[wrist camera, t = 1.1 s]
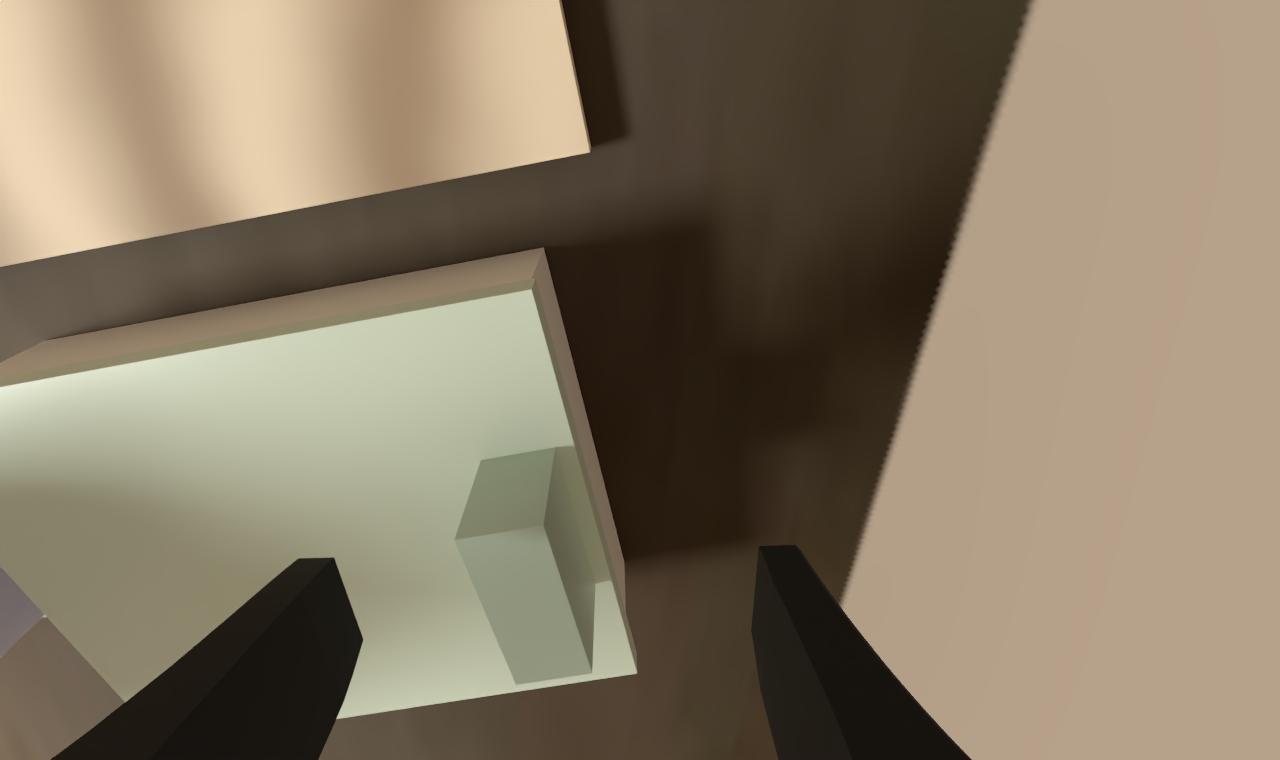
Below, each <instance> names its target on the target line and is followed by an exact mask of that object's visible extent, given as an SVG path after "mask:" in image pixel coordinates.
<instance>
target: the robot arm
mask: <svg viewBox="0 0 1280 760" xmlns="http://www.w3.org/2000/svg"><path fill="white" fill-rule="evenodd" d="M43 617H46V616H45V615H44V614H43V612H42V611H41V610H40V609H39V608H38V607H37V606H36V605H35V604H34V603H33V602H32V600H31V599H30V598H29V597H28V596H27V595H26V594H25V593H24V592H23V591H22V590H21V589H20V587H19V586H18V585H17V584H16V583H15V582H14V581H13V580H12V579H11V578H10V577H9V576H8V574H7V573H6V572H5V571H4V570H3V569H2V568H1V567H0V658H1V657H2V656H3V655H4V654H5V653H6V652H7V651H8V650H9V649H10V648H11V647H12V646H13V645H14V644H15V643H16V642H17V641H18V640H19V639H20V638H21V637H22V636H23V635H24V634H25V633H27V632H28V631H29V630H30V629H31V628H32V627H33V626H34V625H35V624H36V623H37V622H38V621H39V620H40V619H41V618H43ZM751 630H752V636H753V643H754V650H755V657H756V663H757V670H758V676H759V682H760V688H761V693H762V697H763V701H764V705H765V709H766V713H767V717H768V721H769V725H770V728H771V732H772V736H773V740H774V744H775V748H776V752H777V755H778V759H779V760H971V759H970V758H969V756H968V755H967V754H965V753H964V751H963V750H961V748H960V747H959V746H958V745H957V744H956V743H955V742H954V741H953V740H952V739H951V738H950V737H949V736H948V735H947V734H946V733H945V732H944V730H943V729H942V728H941V727H940V726H939V725H938V724H937V723H936V722H935V721H934V720H933V719H932V717H931V716H930V715H929V714H928V713H927V712H926V711H925V710H924V709H923V708H922V706H921V705H920V704H919V703H918V702H917V701H916V700H915V698H914V697H913V696H912V695H911V694H910V693H909V692H908V690H907V689H906V688H905V687H904V686H903V685H902V684H901V682H900V681H899V680H898V679H897V678H896V677H895V675H894V674H893V673H892V672H891V670H890V669H889V668H888V667H887V666H886V665H885V663H884V662H883V661H882V660H881V658H880V657H879V656H878V655H877V653H876V652H875V651H874V650H873V648H872V647H871V646H870V645H869V643H868V642H867V641H866V640H865V639H864V637H863V636H862V635H861V633H860V632H859V631H858V630H857V628H856V627H855V626H854V624H853V623H852V622H851V621H850V619H849V618H848V617H847V615H846V614H845V613H844V611H843V610H842V608H841V607H840V606H839V604H838V603H837V602H836V600H835V599H834V598H833V596H832V595H831V594H830V592H829V591H828V589H827V588H826V587H825V585H824V584H823V582H822V581H821V579H820V578H819V577H818V575H817V574H816V572H815V571H814V569H813V568H812V566H811V565H810V563H809V562H808V560H807V559H806V557H805V556H804V554H803V553H802V551H801V550H800V549H799V548H798V547H797V546H796V545H782V546H759V552H758V563H757V574H756V585H755V596H754V607H753V618H752V629H751ZM362 643H363V637H362V634H361V631H360V628H359V626H358V623H357V620H356V617H355V615H354V612H353V609H352V606H351V603H350V601H349V598H348V595H347V592H346V589H345V587H344V584H343V581H342V578H341V575H340V573H339V570H338V567H337V564H336V561H335V559H334V557H331V558H298V559H297V560H296V561H294V562H293V563H292V564H291V565H289V566H288V567H287V568H286V569H284V570H283V571H282V572H281V573H280V574H278V575H277V576H276V577H275V578H274V579H273V580H271V581H270V582H269V583H268V584H267V585H265V586H264V587H263V588H262V589H261V590H260V591H258V592H257V593H256V594H255V595H254V596H253V597H252V598H250V599H249V600H248V601H247V602H246V603H245V604H243V605H242V606H241V607H240V608H239V609H238V610H236V611H235V612H234V613H233V614H232V615H231V616H229V617H228V618H227V619H226V620H225V621H224V622H222V623H221V624H220V625H219V626H218V627H217V628H215V629H214V630H213V631H212V632H211V633H209V634H208V635H207V636H206V637H205V638H204V639H202V640H201V641H200V642H199V643H198V644H196V645H195V646H194V647H193V648H192V649H191V650H189V651H188V652H187V653H186V654H185V655H183V656H182V657H181V658H180V659H179V660H178V661H176V662H175V663H174V664H173V665H172V666H170V667H169V668H168V669H167V670H165V671H164V672H163V673H162V674H160V675H159V676H158V677H157V678H155V679H154V680H153V681H152V682H150V683H149V684H148V685H147V686H145V687H144V688H143V689H141V690H140V691H139V692H138V693H136V694H135V695H134V696H133V697H131V698H130V699H129V700H128V701H126V702H125V703H124V704H123V705H121V706H120V707H119V708H118V709H116V710H115V711H114V712H113V713H111V714H110V715H109V716H108V717H106V718H105V719H104V720H102V721H101V722H100V723H99V724H97V725H96V726H95V727H94V728H92V729H91V730H90V731H88V732H87V733H86V734H84V735H83V736H82V737H80V738H79V739H78V740H76V741H75V742H74V743H72V744H71V745H70V746H68V747H67V748H66V749H64V750H63V751H62V752H60V753H59V754H58V755H56V756H55V757H53V758H52V759H51V760H318V759H319V756H320V754H321V752H322V750H323V747H324V745H325V743H326V741H327V739H328V736H329V734H330V732H331V730H332V727H333V725H334V723H335V721H336V718H337V716H338V714H339V712H340V709H341V707H342V705H343V702H344V700H345V697H346V694H347V691H348V688H349V685H350V682H351V679H352V676H353V673H354V669H355V666H356V663H357V659H358V656H359V653H360V649H361V646H362Z"/></svg>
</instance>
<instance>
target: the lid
mask: <svg viewBox="0 0 1280 760" xmlns="http://www.w3.org/2000/svg"><path fill="white" fill-rule="evenodd" d="M331 557H334V559H335V561H336V564H337V567H338V570H339V573H340V575H341V578H342V581H343V584H344V587H345V589H346V592H347V595H348V598H349V601H350V603H351V606H352V609H353V612H354V615H355V617H356V620H357V623H358V626H359V628H360V631H361V634H362V637H363V643H362V646H361V649H360V653H359V656H358V659H357V663H356V666H355V669H354V673H353V676H352V679H351V682H350V685H349V688H348V691H347V694H346V697H345V700H344V702H343V705H342V707H341V709H340V712H339V714H338V716H337V718H336V719H339V718H346V717H352V716H359V715H365V714H372V713H379V712H385V711H392V710H399V709H405V708H412V707H418V706H425V705H432V704H438V703H445V702H451V701H458V700H465V699H471V698H478V697H484V696H491V695H498V694H504V693H511V692H518V691H524V690H531V689H537V688H544V687H551V686H557V685H564V684H570V683H577V682H584V681H590V680H597V679H603V678H610V677H617V676H623V675H630V674H636V673H637V654H636V649H635V645H634V642H633V638H632V634H631V631H630V627H629V623H628V619H627V616H626V612H625V608H624V605H623V601H622V597H621V593H620V590H619V586H618V582H617V579H616V575H615V571H614V567H613V564H612V560H611V556H610V553H609V549H608V545H607V541H606V538H605V534H604V530H603V527H602V523H601V519H600V516H599V512H598V508H597V504H596V501H595V497H594V493H593V490H592V486H591V482H590V478H589V475H588V471H587V467H586V464H585V460H584V456H583V452H582V449H581V445H580V441H579V438H578V434H577V430H576V426H575V423H574V419H573V415H572V412H571V408H570V404H569V400H568V397H567V393H566V389H565V386H564V382H563V378H562V375H561V371H560V367H559V363H558V360H557V356H556V352H555V349H554V345H553V341H552V337H551V334H550V330H549V326H548V323H547V319H546V315H545V311H544V308H543V304H542V300H541V297H540V293H539V289H538V285H537V282H536V278H534V279H529V280H523V281H518V282H513V283H507V284H502V285H496V286H491V287H486V288H480V289H475V290H469V291H464V292H459V293H453V294H448V295H442V296H437V297H431V298H426V299H421V300H415V301H410V302H404V303H399V304H394V305H388V306H383V307H377V308H372V309H367V310H361V311H356V312H350V313H345V314H339V315H334V316H329V317H323V318H318V319H312V320H307V321H302V322H296V323H291V324H285V325H280V326H275V327H269V328H264V329H258V330H253V331H248V332H242V333H237V334H231V335H226V336H220V337H215V338H210V339H204V340H199V341H193V342H188V343H183V344H177V345H172V346H166V347H161V348H156V349H150V350H145V351H139V352H134V353H129V354H123V355H118V356H112V357H107V358H101V359H96V360H91V361H85V362H80V363H74V364H69V365H64V366H58V367H53V368H47V369H42V370H37V371H31V372H26V373H20V374H15V375H10V376H4V377H0V567H1V568H2V569H3V570H4V571H5V572H6V573H7V574H8V576H9V577H10V578H11V579H12V580H13V581H14V582H15V583H16V584H17V585H18V586H19V587H20V589H21V590H22V591H23V592H24V593H25V594H26V595H27V596H28V597H29V598H30V599H31V600H32V602H33V603H34V604H35V605H36V606H37V607H38V608H39V609H40V610H41V611H42V612H43V614H44V615H45V616H46V617H47V618H48V619H49V620H50V621H51V622H52V623H53V624H54V625H55V627H56V628H57V629H58V630H59V631H60V632H61V633H62V634H63V635H64V636H65V637H66V638H67V640H68V641H69V642H70V643H71V644H72V645H73V646H74V647H75V648H76V649H77V650H78V652H79V653H80V654H81V655H82V656H83V657H84V658H85V659H86V660H87V661H88V662H89V663H90V665H91V666H92V667H93V668H94V669H95V670H96V671H97V672H98V673H99V674H100V675H101V676H102V678H103V679H104V680H105V681H106V682H107V683H108V684H109V685H110V686H111V687H112V688H113V689H114V691H115V692H116V693H117V694H118V695H119V696H120V697H121V698H122V699H123V700H124V701H125V702H126V701H128V700H129V699H130V698H131V697H133V696H134V695H135V694H136V693H138V692H139V691H140V690H141V689H143V688H144V687H145V686H147V685H148V684H149V683H150V682H152V681H153V680H154V679H155V678H157V677H158V676H159V675H160V674H162V673H163V672H164V671H165V670H167V669H168V668H169V667H170V666H172V665H173V664H174V663H175V662H176V661H178V660H179V659H180V658H181V657H182V656H183V655H185V654H186V653H187V652H188V651H189V650H191V649H192V648H193V647H194V646H195V645H196V644H198V643H199V642H200V641H201V640H202V639H204V638H205V637H206V636H207V635H208V634H209V633H211V632H212V631H213V630H214V629H215V628H217V627H218V626H219V625H220V624H221V623H222V622H224V621H225V620H226V619H227V618H228V617H229V616H231V615H232V614H233V613H234V612H235V611H236V610H238V609H239V608H240V607H241V606H242V605H243V604H245V603H246V602H247V601H248V600H249V599H250V598H252V597H253V596H254V595H255V594H256V593H257V592H258V591H260V590H261V589H262V588H263V587H264V586H265V585H267V584H268V583H269V582H270V581H271V580H273V579H274V578H275V577H276V576H277V575H278V574H280V573H281V572H282V571H283V570H284V569H286V568H287V567H288V566H289V565H291V564H292V563H293V562H294V561H296V560H297V559H298V558H331Z"/></svg>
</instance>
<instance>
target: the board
mask: <svg viewBox="0 0 1280 760" xmlns="http://www.w3.org/2000/svg"><path fill="white" fill-rule="evenodd" d="M590 150H591V144H590V139H589V134H588V129H587V124H586V119H585V114H584V109H583V104H582V99H581V95H580V90H579V85H578V80H577V75H576V70H575V65H574V60H573V55H572V50H571V45H570V40H569V35H568V30H567V25H566V20H565V16H564V11H563V6H562V1H561V0H0V267H2V266H7V265H12V264H17V263H23V262H28V261H33V260H38V259H43V258H48V257H53V256H59V255H64V254H69V253H74V252H79V251H84V250H89V249H95V248H100V247H105V246H110V245H115V244H120V243H125V242H131V241H136V240H141V239H146V238H151V237H156V236H162V235H167V234H172V233H177V232H182V231H187V230H192V229H198V228H203V227H208V226H213V225H218V224H223V223H228V222H234V221H239V220H244V219H249V218H254V217H259V216H264V215H270V214H275V213H280V212H285V211H290V210H295V209H300V208H306V207H311V206H316V205H321V204H326V203H331V202H337V201H342V200H347V199H352V198H357V197H362V196H367V195H373V194H378V193H383V192H388V191H393V190H398V189H403V188H409V187H414V186H419V185H424V184H429V183H434V182H439V181H445V180H450V179H455V178H460V177H465V176H470V175H475V174H481V173H486V172H491V171H496V170H501V169H506V168H512V167H517V166H522V165H527V164H532V163H537V162H542V161H548V160H553V159H558V158H563V157H568V156H573V155H578V154H584V153H589V152H590Z"/></svg>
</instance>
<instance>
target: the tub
mask: <svg viewBox="0 0 1280 760" xmlns="http://www.w3.org/2000/svg"><path fill="white" fill-rule="evenodd" d="M534 278H536V282H537V285H538V289H539V293H540V297H541V300H542V304H543V308H544V311H545V315H546V319H547V323H548V326H549V330H550V334H551V337H552V341H553V345H554V349H555V352H556V356H557V360H558V363H559V367H560V371H561V375H562V378H563V382H564V386H565V389H566V393H567V397H568V400H569V404H570V408H571V412H572V415H573V419H574V423H575V426H576V430H577V434H578V438H579V441H580V445H581V449H582V452H583V456H584V460H585V464H586V467H587V471H588V475H589V478H590V482H591V486H592V490H593V493H594V497H595V501H596V504H597V508H598V512H599V516H600V519H601V523H602V527H603V530H604V534H605V538H606V541H607V545H608V549H609V553H610V556H611V560H612V564H613V567H614V571H615V575H616V579H617V582H618V586H619V590H620V593H621V597H622V601H623V605H624V608H625V565H624V559H623V555H622V551H621V547H620V543H619V539H618V535H617V531H616V527H615V524H614V520H613V516H612V512H611V508H610V504H609V500H608V496H607V492H606V488H605V485H604V481H603V477H602V473H601V469H600V465H599V461H598V457H597V453H596V450H595V446H594V442H593V438H592V434H591V430H590V426H589V422H588V418H587V414H586V411H585V407H584V403H583V399H582V395H581V391H580V387H579V383H578V379H577V375H576V372H575V368H574V364H573V360H572V356H571V352H570V348H569V344H568V340H567V336H566V333H565V329H564V325H563V321H562V317H561V313H560V309H559V305H558V301H557V297H556V294H555V290H554V286H553V282H552V278H551V274H550V270H549V266H548V262H547V258H546V255H545V251H544V247H543V248H538V249H533V250H527V251H522V252H516V253H511V254H506V255H500V256H495V257H490V258H484V259H479V260H474V261H468V262H463V263H458V264H452V265H447V266H442V267H436V268H431V269H426V270H420V271H415V272H410V273H404V274H399V275H394V276H388V277H383V278H378V279H372V280H367V281H362V282H356V283H351V284H346V285H340V286H335V287H330V288H324V289H319V290H314V291H308V292H303V293H298V294H292V295H287V296H282V297H276V298H271V299H265V300H260V301H255V302H249V303H244V304H239V305H233V306H228V307H223V308H217V309H212V310H207V311H201V312H196V313H191V314H185V315H180V316H175V317H169V318H164V319H159V320H153V321H148V322H143V323H137V324H132V325H127V326H121V327H116V328H111V329H105V330H100V331H95V332H89V333H84V334H79V335H73V336H68V337H63V338H57V339H52V340H47V341H43V342H41V343H39V344H37V345H35V346H33V347H31V348H29V349H27V350H25V351H23V352H21V353H19V354H17V355H15V356H13V357H11V358H9V359H7V360H5V361H3V362H1V363H0V377H4V376H10V375H15V374H20V373H26V372H31V371H37V370H42V369H47V368H53V367H58V366H64V365H69V364H74V363H80V362H85V361H91V360H96V359H101V358H107V357H112V356H118V355H123V354H129V353H134V352H139V351H145V350H150V349H156V348H161V347H166V346H172V345H177V344H183V343H188V342H193V341H199V340H204V339H210V338H215V337H220V336H226V335H231V334H237V333H242V332H248V331H253V330H258V329H264V328H269V327H275V326H280V325H285V324H291V323H296V322H302V321H307V320H312V319H318V318H323V317H329V316H334V315H339V314H345V313H350V312H356V311H361V310H367V309H372V308H377V307H383V306H388V305H394V304H399V303H404V302H410V301H415V300H421V299H426V298H431V297H437V296H442V295H448V294H453V293H459V292H464V291H469V290H475V289H480V288H486V287H491V286H496V285H502V284H507V283H513V282H518V281H523V280H529V279H534Z"/></svg>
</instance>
